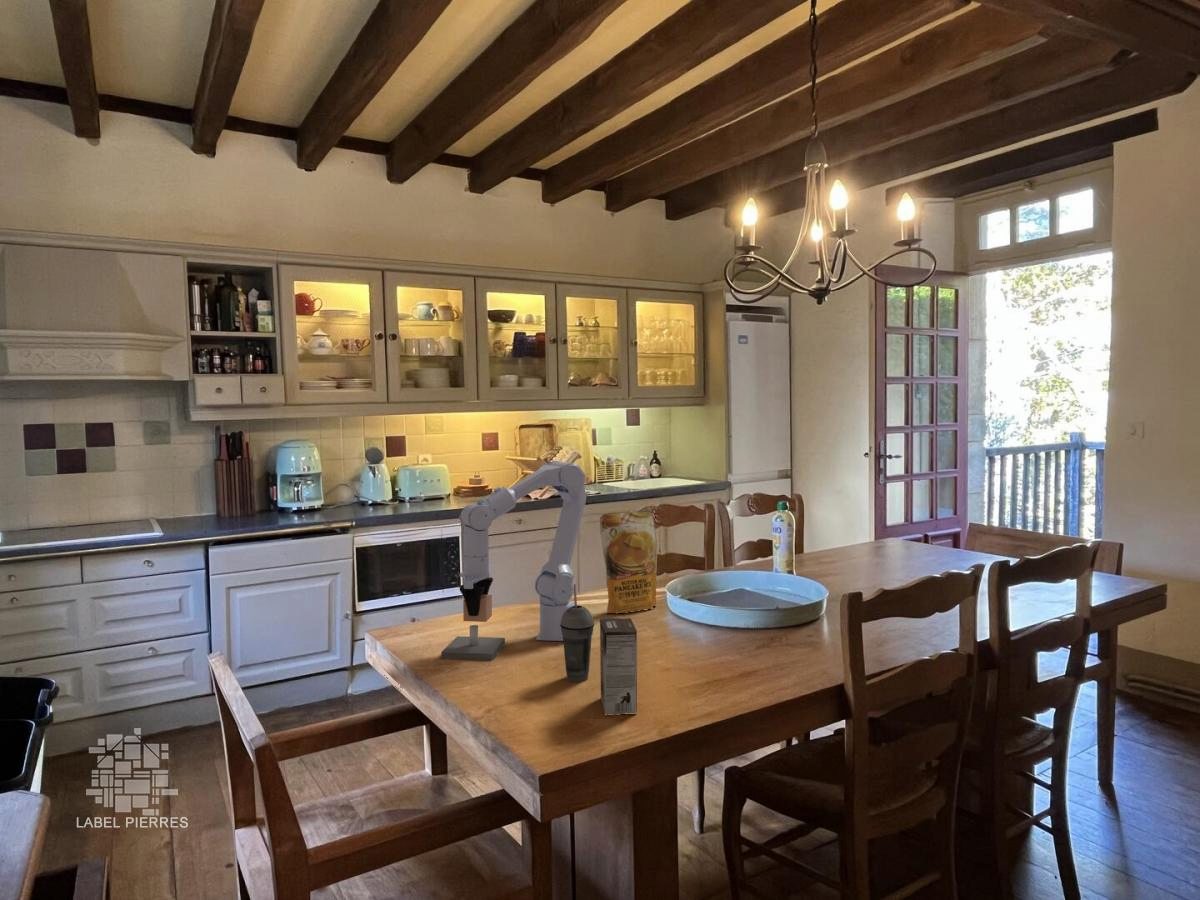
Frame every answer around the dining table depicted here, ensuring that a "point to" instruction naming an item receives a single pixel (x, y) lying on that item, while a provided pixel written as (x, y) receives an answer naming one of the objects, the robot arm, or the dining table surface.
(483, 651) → the post board
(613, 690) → the coffee box
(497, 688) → the dining table surface
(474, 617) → the collar
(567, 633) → the beverage cup
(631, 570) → the pancake mix bag
